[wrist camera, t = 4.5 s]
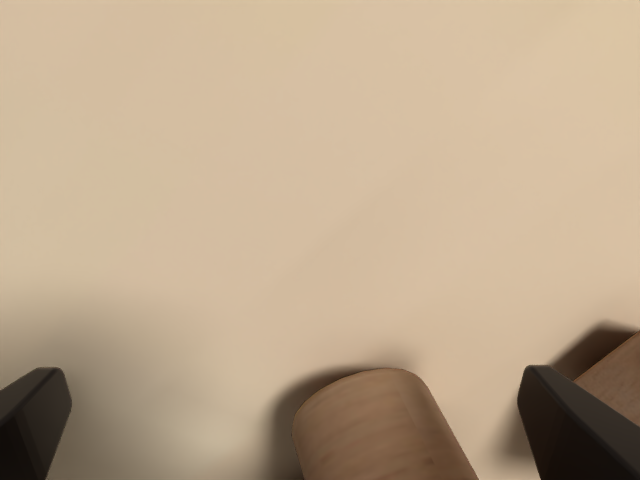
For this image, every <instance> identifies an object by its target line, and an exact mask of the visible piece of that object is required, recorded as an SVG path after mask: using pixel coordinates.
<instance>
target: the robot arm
mask: <svg viewBox="0 0 640 480" xmlns="http://www.w3.org/2000/svg"><path fill="white" fill-rule="evenodd" d="M517 404H518V409H519V413H520V416H521V419H522V422H523V425H524V428H525V432H526V435H527V438H528V441H529V444H530V448H531V451H532V454H533V457H534V460H535V463H536V467H537V470H538V473H539V476H540V479H541V480H640V426H638V425H637V424H635V423H634V422H632V421H631V420H629V419H628V418H626V417H625V416H623V415H622V414H620V413H619V412H617V411H616V410H614V409H613V408H611V407H610V406H608V405H607V404H606V403H604V402H603V401H601V400H600V399H598V398H597V397H595V396H594V395H592V394H591V393H589V392H588V391H586V390H585V389H583V388H582V387H580V386H579V385H577V384H576V383H574V382H573V381H571V380H570V379H568V378H567V377H566V376H564V375H563V374H561V373H560V372H558V371H557V370H555V369H554V368H552V367H550V366H548V365H529V366H527V367H526V368H525V370H524V373H523V377H522V381H521V384H520V388H519V392H518V397H517ZM71 406H72V400H71V396H70V392H69V389H68V386H67V382H66V379H65V375H64V373H63V371H62V370H61V369H60V368H58V367H40V368H36V369H34V370H33V371H31V372H29V373H28V374H26V375H25V376H23V377H21V378H20V379H18V380H16V381H15V382H13V383H12V384H10V385H8V386H7V387H5V388H4V389H2V390H0V480H46V477H47V475H48V472H49V469H50V466H51V464H52V461H53V458H54V455H55V453H56V450H57V447H58V444H59V442H60V439H61V436H62V433H63V431H64V428H65V425H66V422H67V420H68V417H69V414H70V411H71Z"/></svg>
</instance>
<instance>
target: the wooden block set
mask: <svg viewBox="0 0 640 480" xmlns="http://www.w3.org/2000/svg"><path fill="white" fill-rule="evenodd" d="M573 382H574V383H576V384H577V385H579V386H580V387H582V388H583V389H585V390H586V391H588V392H589V393H591V394H592V395H594V396H595V397H597V398H598V399H600V400H601V401H603V402H604V403H606V404H607V405H608V406H610V407H611V408H613V409H614V410H616V411H617V412H619V413H620V414H622V415H623V416H625V417H626V418H628V419H629V420H631V421H632V422H634V423H635V424H637V425H638V426H640V331H638V332H637V333H636V334H635V335H633V336H632V337H631V338H629V339H628V340H627V341H625V342H624V343H623V344H621V345H620V346H619V347H617V348H616V349H615V350H613V351H612V352H611V353H609V354H608V355H607V356H605V357H604V358H603V359H601V360H600V361H599V362H598V363H596V364H595V365H594V366H592V367H591V368H590V369H588V370H587V371H586V372H584V373H583V374H582V375H580V376H579V377H578V378H576V379H575V380H574V381H573ZM291 435H292V438H293V442H294V445H295V448H296V452H297V455H298V459H299V462H300V466H301V469H302V472H303V476H304V479H305V480H479V479H478V477H477V475H476V474H475V472H474V470H473V468H472V466H471V465H470V463H469V461H468V459H467V457H466V456H465V454H464V452H463V450H462V448H461V446H460V445H459V443H458V441H457V439H456V437H455V436H454V434H453V432H452V430H451V428H450V427H449V425H448V423H447V421H446V419H445V418H444V416H443V414H442V412H441V410H440V409H439V407H438V405H437V403H436V401H435V400H434V398H433V396H432V394H431V392H430V390H429V389H428V387H427V386H426V384H425V383H424V382H423V381H422V380H421V379H420V378H419V377H418V376H417V375H415V374H413V373H410V372H408V371H405V370H403V369H390V368H382V369H375V370H369V371H362V372H359V373H356V374H353V375H350V376H347V377H344V378H341V379H339V380H337V381H335V382H333V383H331V384H329V385H327V386H326V387H324V388H322V389H320V390H319V391H317V392H316V393H315V394H314V395H312V396H311V397H310V398H309V399H307V400H306V401H305V402H304V403H303V404H302V406H301V407H300V408H299V410H298V411H297V412H296V414H295V416H294V421H293V426H292V434H291Z"/></svg>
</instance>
